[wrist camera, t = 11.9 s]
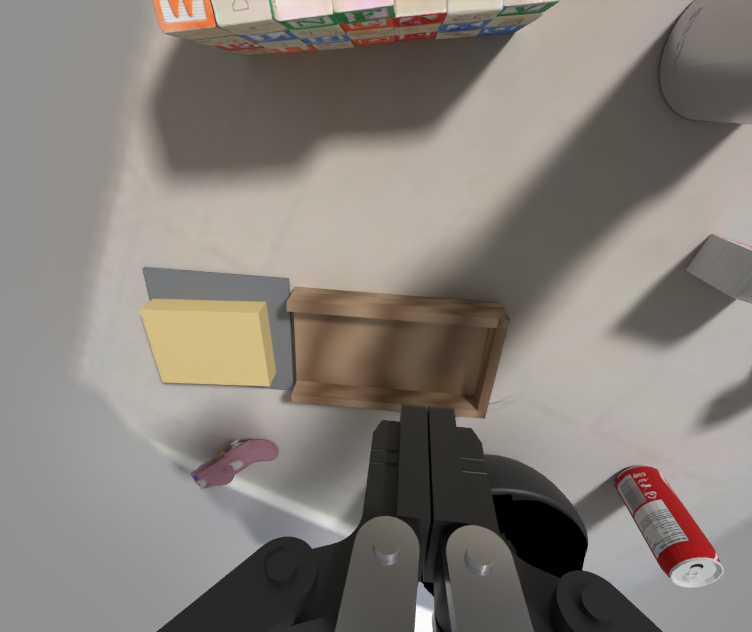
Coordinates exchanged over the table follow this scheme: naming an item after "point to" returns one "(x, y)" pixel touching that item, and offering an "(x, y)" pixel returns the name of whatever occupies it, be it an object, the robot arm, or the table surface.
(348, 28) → the stack of blocks
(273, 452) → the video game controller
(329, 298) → the walnut box
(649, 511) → the soda can
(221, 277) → the charcoal mat
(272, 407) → the table surface
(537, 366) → the table surface
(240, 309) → the cover plate
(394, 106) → the table surface
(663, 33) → the table surface
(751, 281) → the grey gabled house block
